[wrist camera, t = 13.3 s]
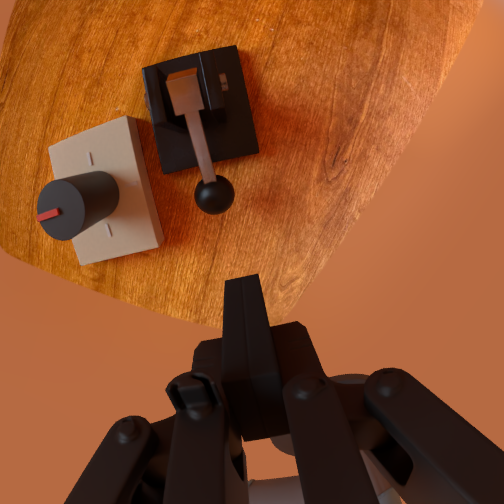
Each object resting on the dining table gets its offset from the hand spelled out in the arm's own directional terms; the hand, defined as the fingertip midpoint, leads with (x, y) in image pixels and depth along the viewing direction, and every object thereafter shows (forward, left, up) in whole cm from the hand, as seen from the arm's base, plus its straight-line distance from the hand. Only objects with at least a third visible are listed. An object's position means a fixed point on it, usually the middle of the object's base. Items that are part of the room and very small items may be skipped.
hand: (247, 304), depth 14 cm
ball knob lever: (+8, +2, -14) cm, 17 cm away
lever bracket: (+12, +2, -20) cm, 24 cm away
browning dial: (+6, +14, -17) cm, 23 cm away
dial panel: (+6, +14, -20) cm, 25 cm away
